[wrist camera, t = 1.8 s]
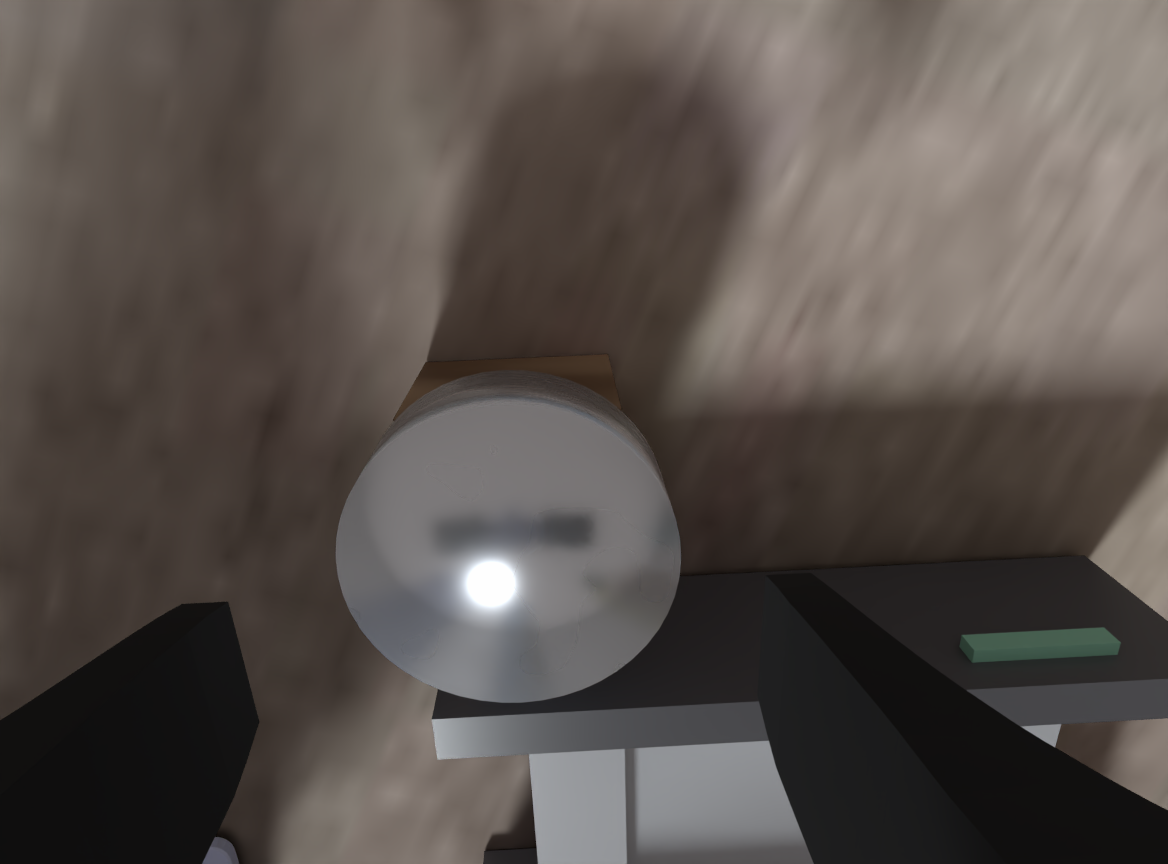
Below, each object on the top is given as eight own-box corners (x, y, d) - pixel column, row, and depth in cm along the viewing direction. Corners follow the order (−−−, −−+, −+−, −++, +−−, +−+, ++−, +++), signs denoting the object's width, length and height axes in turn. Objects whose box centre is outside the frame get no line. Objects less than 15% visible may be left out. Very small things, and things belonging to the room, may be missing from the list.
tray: (498, 919, 23) (485, 1092, 18) (458, 577, 18) (430, 707, 14) (999, 888, 23) (1096, 1051, 19) (1087, 545, 18) (1240, 662, 14)
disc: (385, 645, 15) (363, 711, 13) (339, 377, 13) (307, 414, 11) (665, 631, 15) (679, 693, 13) (666, 362, 13) (683, 396, 11)
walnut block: (444, 523, 18) (420, 610, 14) (425, 362, 16) (393, 418, 13) (611, 514, 18) (624, 600, 14) (608, 354, 16) (621, 408, 13)
